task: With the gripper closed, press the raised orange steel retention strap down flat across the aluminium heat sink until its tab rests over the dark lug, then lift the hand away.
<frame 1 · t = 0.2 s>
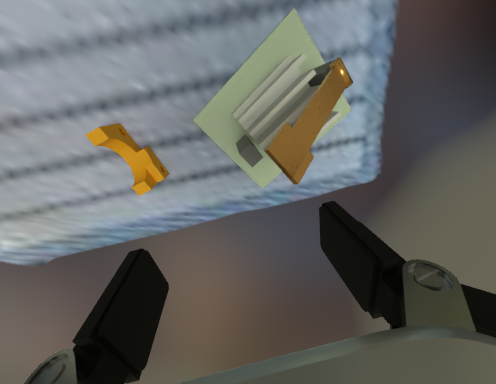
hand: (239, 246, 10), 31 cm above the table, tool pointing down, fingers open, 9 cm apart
pipe clamp: (141, 152, 36), on the table
board: (273, 114, 36), on the table
strap: (316, 112, 21), point 16 cm above the table, hinge at 35.0°
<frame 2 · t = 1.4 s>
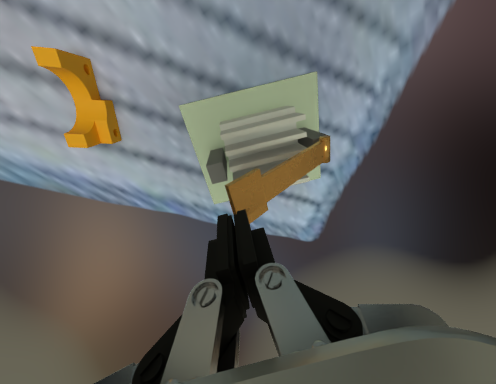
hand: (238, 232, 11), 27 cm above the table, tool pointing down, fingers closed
pipe clamp: (100, 102, 31), on the table
board: (257, 145, 36), on the table
strap: (290, 172, 22), point 16 cm above the table, hinge at 35.0°
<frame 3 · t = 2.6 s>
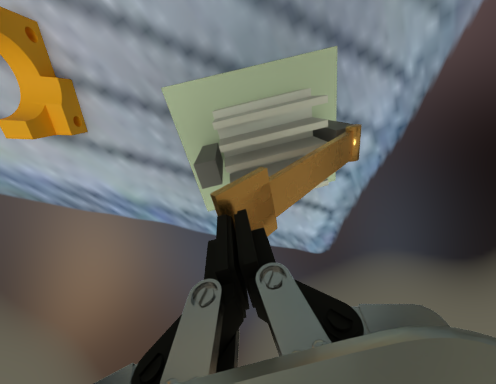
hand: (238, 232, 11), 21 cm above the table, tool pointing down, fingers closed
pipe clamp: (56, 82, 24), on the table
board: (261, 140, 30), on the table
strap: (308, 173, 15), point 16 cm above the table, hinge at 33.8°, touching gripper
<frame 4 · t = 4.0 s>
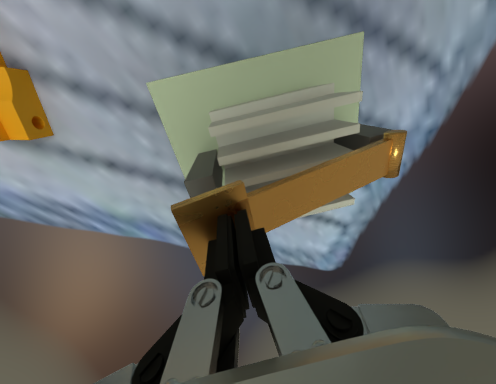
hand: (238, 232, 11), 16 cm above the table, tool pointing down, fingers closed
pipe clamp: (9, 74, 19), on the table
board: (267, 146, 25), on the table
strap: (312, 189, 13), point 14 cm above the table, hinge at 17.1°, touching gripper
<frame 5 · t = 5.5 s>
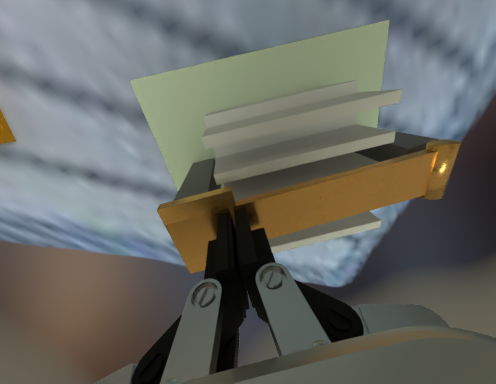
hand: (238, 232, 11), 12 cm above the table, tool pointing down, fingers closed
board: (273, 153, 22), on the table
strap: (316, 203, 11), point 12 cm above the table, hinge at 2.9°, touching gripper
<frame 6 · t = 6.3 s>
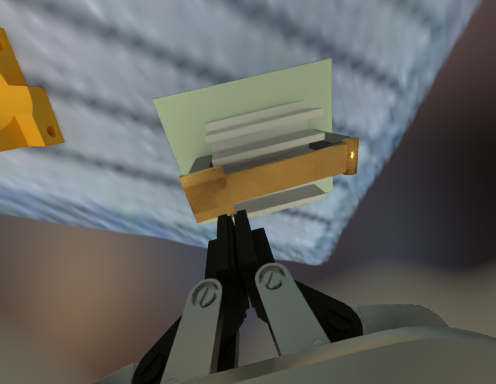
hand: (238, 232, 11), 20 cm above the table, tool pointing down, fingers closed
pipe clamp: (28, 91, 23), on the table
board: (256, 151, 29), on the table
strap: (275, 176, 18), point 12 cm above the table, hinge at 2.9°
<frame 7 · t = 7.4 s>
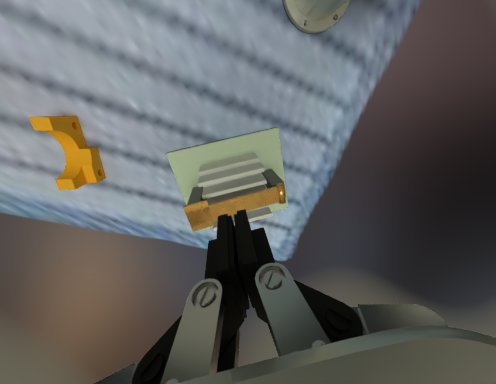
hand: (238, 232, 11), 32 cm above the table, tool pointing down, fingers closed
pipe clamp: (86, 148, 36), on the table
board: (233, 182, 43), on the table
strap: (237, 205, 32), point 12 cm above the table, hinge at 2.9°
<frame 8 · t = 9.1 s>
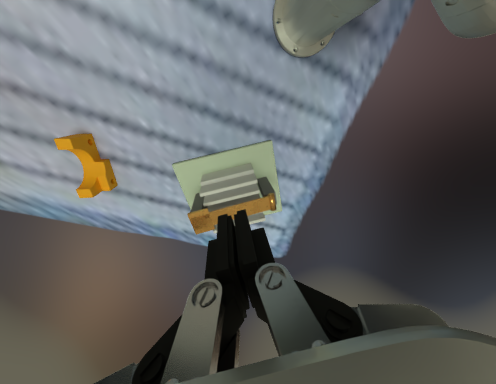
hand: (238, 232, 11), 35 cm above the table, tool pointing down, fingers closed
pipe clamp: (100, 160, 42), on the table
board: (232, 188, 48), on the table
strap: (234, 212, 37), point 12 cm above the table, hinge at 2.9°
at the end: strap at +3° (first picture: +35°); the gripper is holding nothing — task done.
